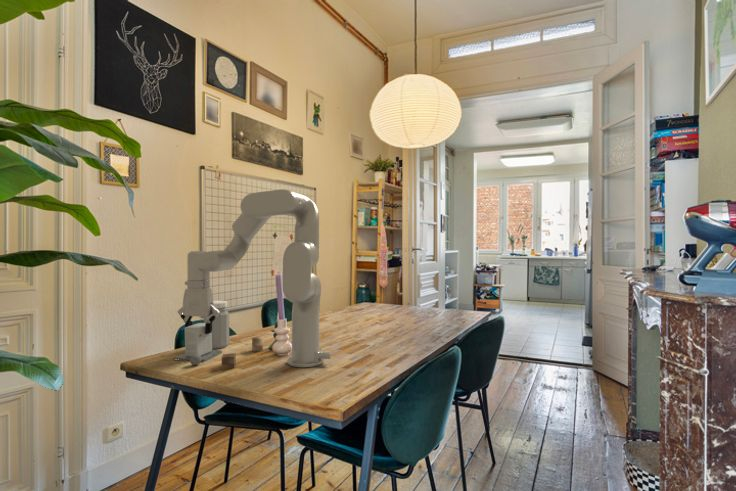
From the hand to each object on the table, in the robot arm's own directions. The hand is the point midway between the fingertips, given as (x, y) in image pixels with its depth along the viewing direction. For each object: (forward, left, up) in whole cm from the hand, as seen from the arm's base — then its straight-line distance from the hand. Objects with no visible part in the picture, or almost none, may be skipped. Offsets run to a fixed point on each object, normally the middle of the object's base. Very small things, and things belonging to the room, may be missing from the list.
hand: (198, 332), depth 150 cm
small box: (0, 0, -8) cm, 8 cm away
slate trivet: (0, 0, -9) cm, 9 cm away
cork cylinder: (-18, -11, -9) cm, 23 cm away
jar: (+1, -14, -9) cm, 17 cm away
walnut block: (-17, +10, -9) cm, 22 cm away
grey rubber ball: (-5, +10, -9) cm, 14 cm away
